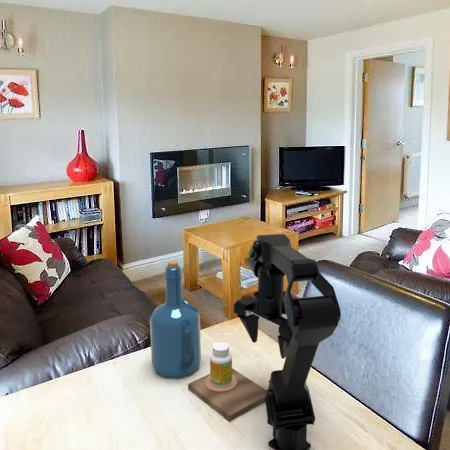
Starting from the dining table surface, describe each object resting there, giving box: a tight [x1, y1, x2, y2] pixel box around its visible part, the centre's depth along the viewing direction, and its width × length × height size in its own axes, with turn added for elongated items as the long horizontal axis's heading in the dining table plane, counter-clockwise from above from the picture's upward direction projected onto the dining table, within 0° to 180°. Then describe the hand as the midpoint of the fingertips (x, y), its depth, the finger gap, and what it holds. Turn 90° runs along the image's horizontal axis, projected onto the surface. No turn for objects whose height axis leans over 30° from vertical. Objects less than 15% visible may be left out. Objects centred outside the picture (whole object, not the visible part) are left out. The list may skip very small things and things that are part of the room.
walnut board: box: [187, 367, 267, 422], centre depth 113 cm, size 16×13×2 cm
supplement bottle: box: [209, 342, 233, 387], centre depth 114 cm, size 5×5×10 cm
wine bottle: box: [149, 260, 202, 379], centre depth 122 cm, size 14×13×30 cm
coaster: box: [205, 375, 237, 392], centre depth 115 cm, size 8×8×1 cm
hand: (268, 349), depth 108 cm, fingers open, 9 cm apart
